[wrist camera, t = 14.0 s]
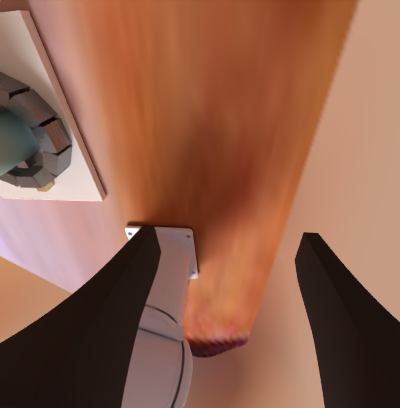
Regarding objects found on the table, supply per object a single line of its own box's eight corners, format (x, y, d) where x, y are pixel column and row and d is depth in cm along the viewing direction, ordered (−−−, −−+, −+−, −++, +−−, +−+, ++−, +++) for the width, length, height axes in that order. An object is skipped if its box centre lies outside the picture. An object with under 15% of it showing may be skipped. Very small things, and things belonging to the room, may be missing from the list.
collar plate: (106, 196, 24) (93, 214, 21) (8, 194, 25) (-13, 210, 23) (28, 10, 14) (-9, 8, 12) (-119, 26, 16) (-174, 27, 14)
